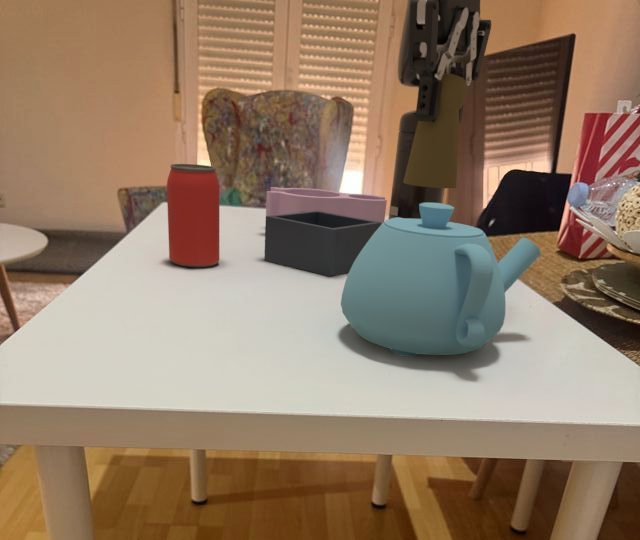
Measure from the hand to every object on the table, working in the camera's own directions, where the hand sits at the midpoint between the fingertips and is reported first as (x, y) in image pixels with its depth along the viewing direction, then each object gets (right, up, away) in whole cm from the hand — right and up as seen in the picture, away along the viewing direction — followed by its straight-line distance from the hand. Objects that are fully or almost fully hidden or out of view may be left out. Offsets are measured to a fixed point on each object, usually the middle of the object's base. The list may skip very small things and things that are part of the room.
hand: (438, 121), depth 68 cm
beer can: (-30, -11, +16) cm, 35 cm away
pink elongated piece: (-12, 0, +41) cm, 43 cm away
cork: (-1, -6, +3) cm, 7 cm away
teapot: (-1, -25, -6) cm, 25 cm away
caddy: (-13, -10, +21) cm, 27 cm away
